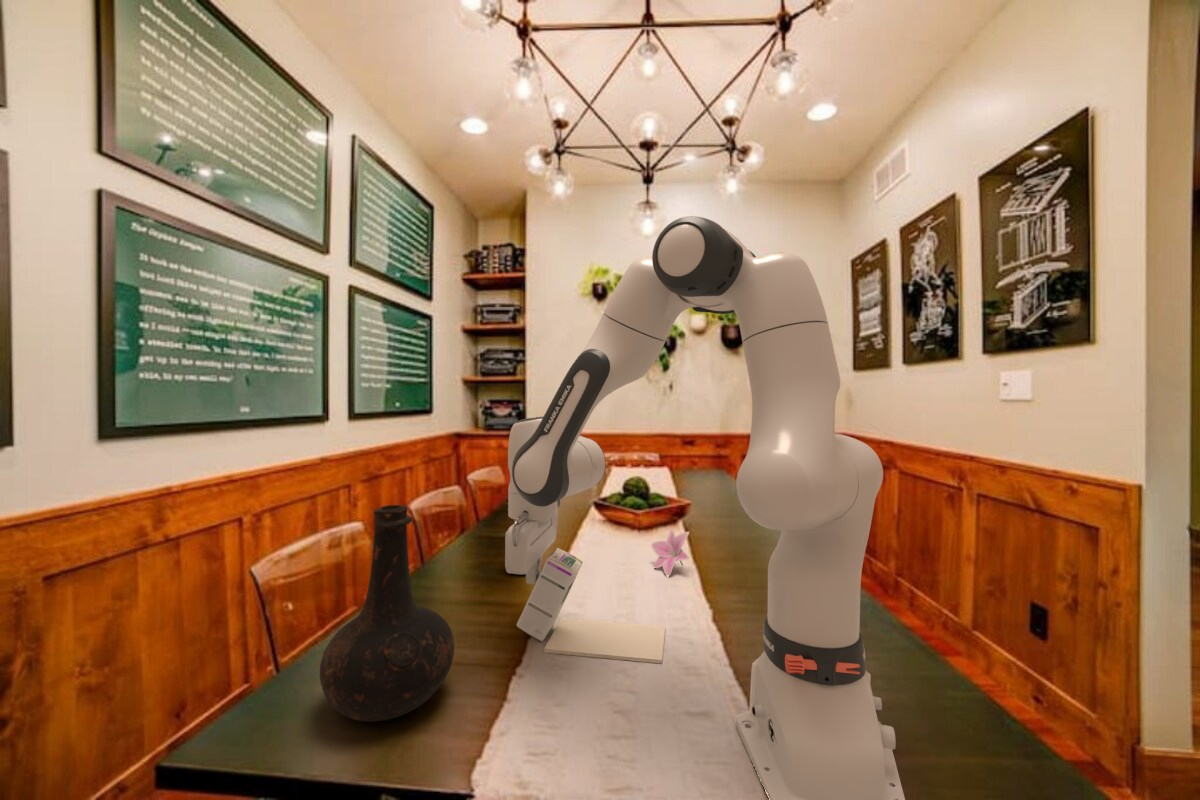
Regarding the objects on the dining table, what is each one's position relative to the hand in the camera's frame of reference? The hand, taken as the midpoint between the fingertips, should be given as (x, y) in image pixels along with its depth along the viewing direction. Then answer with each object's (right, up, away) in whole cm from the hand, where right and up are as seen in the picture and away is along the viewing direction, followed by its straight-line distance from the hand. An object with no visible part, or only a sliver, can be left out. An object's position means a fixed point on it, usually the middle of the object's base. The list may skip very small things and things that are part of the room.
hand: (533, 581), depth 94 cm
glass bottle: (-18, -11, -20) cm, 29 cm away
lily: (+30, -10, +34) cm, 46 cm away
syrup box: (0, -9, 0) cm, 9 cm away
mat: (+14, -10, -2) cm, 17 cm away
